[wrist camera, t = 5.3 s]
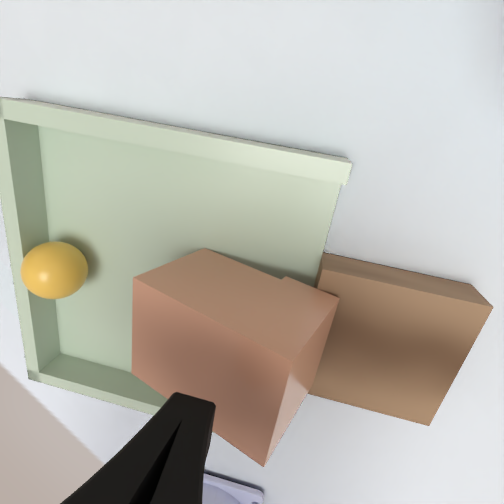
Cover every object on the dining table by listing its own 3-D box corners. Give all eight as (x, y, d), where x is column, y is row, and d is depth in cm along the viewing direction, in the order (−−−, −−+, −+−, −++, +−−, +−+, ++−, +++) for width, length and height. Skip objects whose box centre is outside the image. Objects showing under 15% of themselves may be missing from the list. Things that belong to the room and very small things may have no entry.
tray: (277, 417, 20) (273, 449, 18) (55, 355, 22) (28, 379, 20) (347, 158, 14) (352, 163, 12) (27, 98, 16) (-16, 95, 14)
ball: (25, 285, 18) (86, 276, 19) (26, 317, 15) (95, 303, 17) (14, 235, 16) (80, 230, 18) (15, 261, 14) (89, 252, 16)
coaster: (417, 394, 18) (428, 426, 16) (292, 362, 18) (289, 388, 17) (471, 284, 15) (493, 307, 13) (321, 252, 16) (322, 269, 14)
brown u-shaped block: (263, 467, 12) (131, 373, 15) (312, 384, 16) (201, 323, 19) (292, 362, 10) (132, 277, 13) (339, 298, 14) (210, 245, 17)
